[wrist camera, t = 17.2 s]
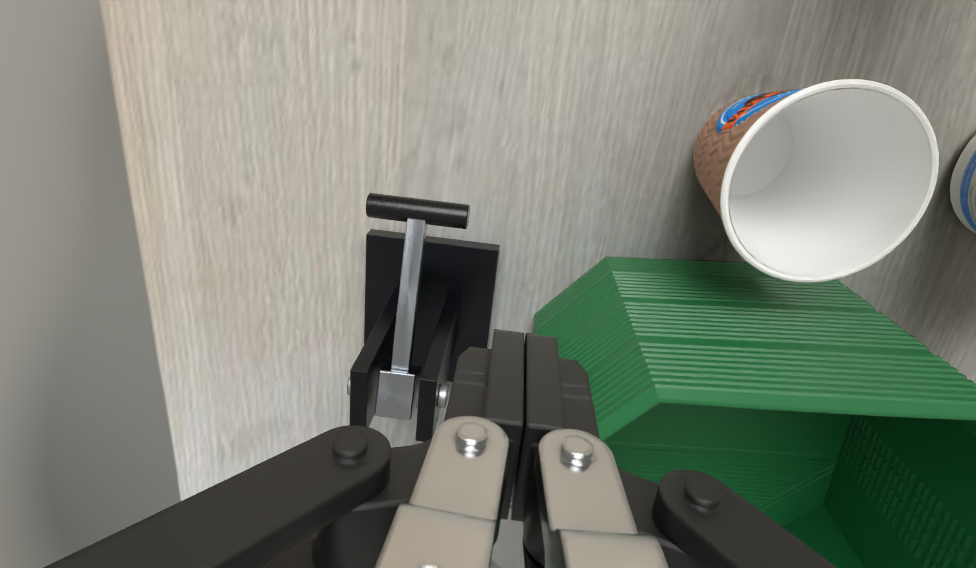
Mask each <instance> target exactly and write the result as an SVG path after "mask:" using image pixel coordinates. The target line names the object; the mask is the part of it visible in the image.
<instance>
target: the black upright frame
mask: <svg viewBox="0 0 976 568" xmlns="http://www.w3.org/2000/svg"><path fill="white" fill-rule="evenodd" d="M404 243H405V233H397V232H389V231H381V230H373V229H371V230H370V231H369V232H368V233H367V238H366V284H365V329H364V347H363V348H362V350H361V352H360V354H359V356H358V357H357V359H356V361H355V363H354V365H353V367H352V368H351V370H350V377H349V380H348V386H347V393H348V395H349V396H350V426H351V425H355V426H364V427H369V425H370V423H371V420H372V418H373V416H374V413H375V405H376V396H377V386H378V377H379V371H380V369H381V368H382V367H383V366H384V365H385V364H386V363H387V362H391V361H392V352H393V343H394V334H395V325H396V316H397V306H398V297H399V288H400V279H401V270H402V261H403V252H404ZM498 253H499V245H495V244H487V243H479V242H470V241H462V240H454V239H446V238H438V237H430V236H426V240H425V249H424V258H423V267H422V275H421V284H420V293H419V302H418V311H417V320H416V329H415V338H414V346H413V355H412V364H411V365H417V366H421V375H420V383H419V398H418V412H417V427H416V441H423V442H425V441H427V440H429V439H431V438H432V437H433V435H434V432H435V428H436V423H437V419H438V415H439V411H440V407H442V408H445V407H446V403H447V397H448V388H449V386H448V385H446V382H447V381H452V382H453V379H454V375H455V371H456V366H457V361H458V357H459V356H460V355H461V354H462V353H463V352H464V351H465V350H467V349H468V348H469V347H477V348H485V349H487V344H488V335H489V327H490V319H491V311H492V303H493V294H494V286H495V278H496V270H497V262H498Z"/></svg>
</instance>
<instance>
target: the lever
mask: <svg viewBox="0 0 976 568" xmlns="http://www.w3.org/2000/svg"><path fill="white" fill-rule="evenodd" d="M469 212H470V206H469V205H465V204H457V203H449V202H441V201H433V200H424V199H416V198H408V197H400V196H392V195H383V194H375V193H370V194H369V195H368V198H367V202H366V214H367V216H368V217H372V218H380V219H388V220H396V221H405V222H407V224H406V233H405V243H404V252H403V261H402V270H401V279H400V288H399V297H398V306H397V316H396V325H395V334H394V343H393V352H392V361H391V362H387V363H386V364H385V365H384V366H383V367H382V368H381V369H380V371H379V377H378V386H377V396H376V405H375V416H381V417H389V418H397V419H404V420H411V418H412V416H413V414H414V412H415V410H416V408H417V401H418V392H419V383H420V375H421V366H417V365H411V364H412V355H413V346H414V338H415V329H416V320H417V311H418V302H419V293H420V284H421V275H422V267H423V258H424V249H425V240H426V231H427V224H429V225H437V226H445V227H453V228H462V229H467V227H468V221H469Z"/></svg>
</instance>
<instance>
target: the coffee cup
mask: <svg viewBox="0 0 976 568" xmlns="http://www.w3.org/2000/svg"><path fill="white" fill-rule="evenodd" d="M858 88H859V89H858ZM862 89H866V90H862ZM874 91H875V92H874ZM877 92H878V93H877ZM880 93H882V94H880ZM883 94H884V95H883ZM693 162H694V169H695V171H696V176H697V178H698V181H699V183H700V185H701V186H702V188H703V190H704V191H705V193H706V194H707V196H708V197H709V199H710V201H711V202H712V204H713V206H714V207H715V209H716V210H717V212H718V214H719V215H720V217H721V219H722V221H723V225H724V228H725V231H726V234H727V236H728V238H729V240H730V242H731V244H732V245H733V247H734V248H735V250H736V251H737V252H738V253H739V255H740V256H741V257H742V258H743V259H744V260H745V261H746V262H748V263H749V264H750V265H751V266H753V267H754V268H756V269H757V270H759V271H761V272H763V273H765V274H767V275H769V276H772V277H775V278H778V279H782V280H786V281H792V282H822V281H829V280H834V279H838V278H842V277H845V276H848V275H851V274H853V273H856V272H858V271H861V270H863V269H865V268H867V267H869V266H870V265H872V264H874V263H876V262H877V261H879V260H880V259H882V258H883V257H885V256H886V255H887V254H889V253H890V252H891V251H892V250H894V249H895V248H896V247H897V246H898V245H899V244H900V243H901V242H902V241H903V240H904V239H905V238H906V237H907V236H908V235H909V234H910V232H911V231H912V230H913V229H914V227H915V226H916V225H917V223H918V222H919V220H920V219H921V217H922V216H923V214H924V212H925V210H926V209H927V207H928V205H929V202H930V200H931V198H932V195H933V192H934V189H935V185H936V181H937V176H938V168H939V153H938V145H937V140H936V137H935V133H934V131H933V128H932V126H931V124H930V122H929V120H928V119H927V117H926V115H925V114H924V113H923V111H922V110H921V109H920V108H919V106H918V105H917V104H916V103H915V102H914V101H913V100H911V99H910V98H909V97H908V96H906V95H905V94H903V93H902V92H900V91H898V90H896V89H894V88H893V87H890V86H888V85H885V84H882V83H878V82H874V81H869V80H861V79H843V80H835V81H829V82H824V83H820V84H817V85H813V86H811V87H808V88H805V89H797V90H788V91H780V92H771V93H763V94H756V95H750V96H745V97H742V98H740V99H736V100H734V101H732V102H730V103H728V104H726V105H724V106H722V107H721V108H720V109H718V110H717V111H716V112H714V113H713V114H712V115H711V116H710V117H709V118H708V119H707V120H706V122H705V123H704V125H703V126H702V127H701V129H700V131H699V133H698V135H697V138H696V140H695V145H694V149H693ZM755 258H756V259H757V260H756V259H755ZM762 263H763V264H762ZM764 264H765V265H764ZM783 272H784V273H783Z"/></svg>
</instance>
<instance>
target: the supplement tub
mask: <svg viewBox="0 0 976 568" xmlns="http://www.w3.org/2000/svg"><path fill="white" fill-rule="evenodd" d="M950 198H951V203H952V206H953V209H954V211H955V213H956V215H957V217H958V218H959V220H960V221H961V222H962V223H963V224H964V225H965V226H966V227H967V228H968V229H969V230H971V231H972V232H974V233H976V135H975V136H974V137H973V138H972V139H971V140H970V142H969V143H968V144H967V146H966V147H965V149H964V150H963V152H962V154H961V155H960V157H959V159H958V161H957V163H956V166H955V168H954V170H953V174H952V178H951V184H950Z"/></svg>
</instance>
